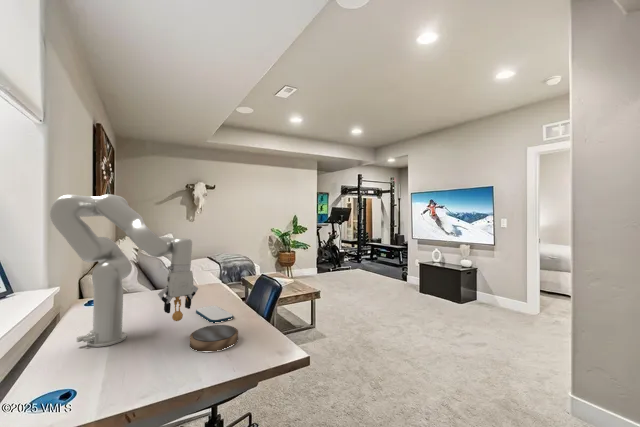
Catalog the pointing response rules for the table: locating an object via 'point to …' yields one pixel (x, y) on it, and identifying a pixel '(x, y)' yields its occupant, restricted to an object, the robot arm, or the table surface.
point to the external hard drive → (214, 314)
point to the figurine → (177, 314)
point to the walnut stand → (213, 338)
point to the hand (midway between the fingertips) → (177, 310)
